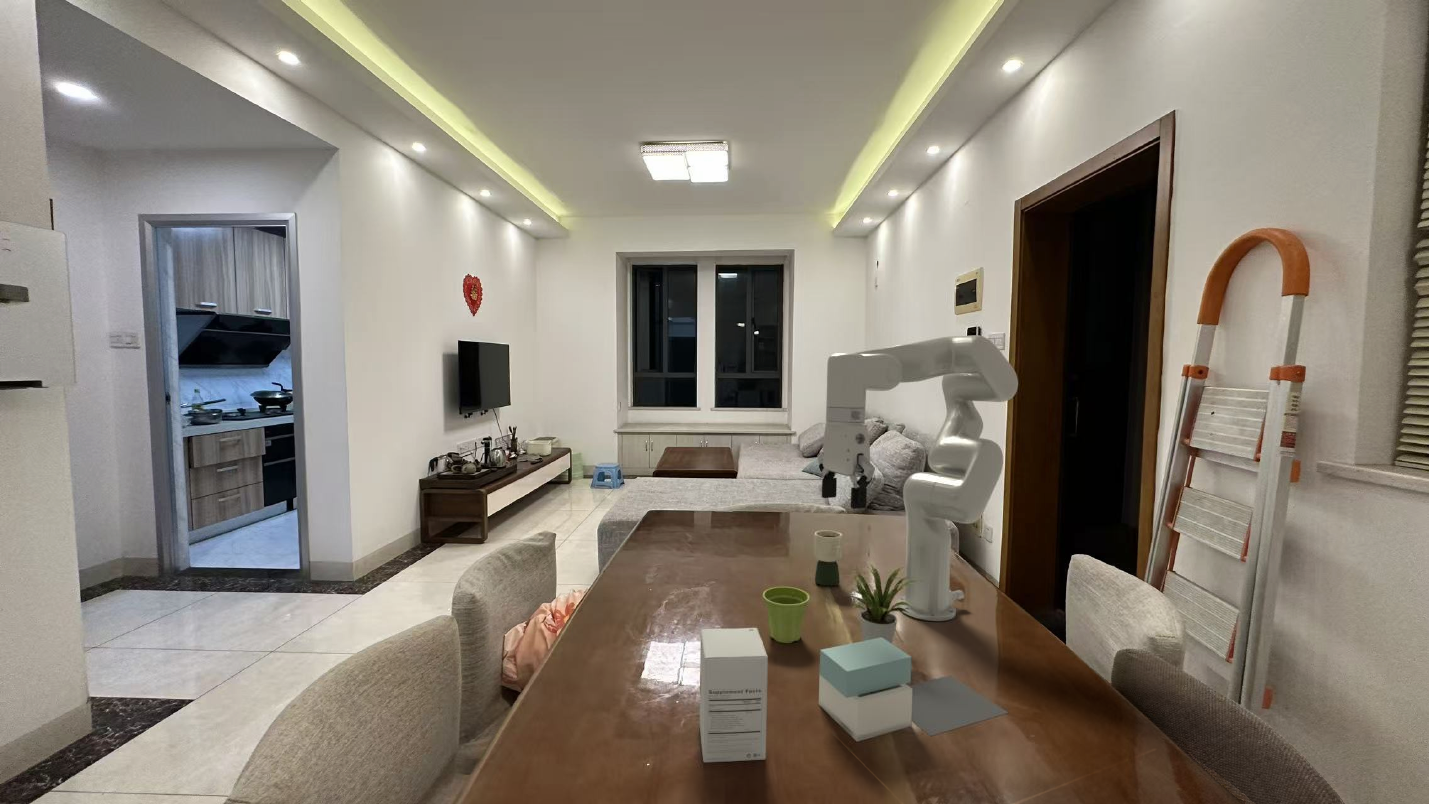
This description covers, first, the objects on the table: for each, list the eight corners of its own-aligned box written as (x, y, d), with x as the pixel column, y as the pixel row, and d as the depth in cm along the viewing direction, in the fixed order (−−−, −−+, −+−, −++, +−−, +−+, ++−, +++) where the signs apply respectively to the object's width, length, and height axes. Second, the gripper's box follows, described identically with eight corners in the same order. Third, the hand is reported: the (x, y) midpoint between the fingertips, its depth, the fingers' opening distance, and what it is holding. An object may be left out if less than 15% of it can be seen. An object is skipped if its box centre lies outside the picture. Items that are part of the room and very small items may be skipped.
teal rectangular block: (880, 660, 94) (881, 637, 94) (910, 682, 88) (911, 656, 88) (819, 674, 89) (820, 649, 89) (846, 698, 83) (847, 671, 83)
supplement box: (698, 723, 86) (699, 627, 86) (756, 721, 87) (758, 626, 86) (701, 764, 77) (703, 657, 76) (766, 761, 78) (769, 655, 77)
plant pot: (807, 650, 110) (808, 606, 109) (759, 645, 112) (760, 601, 111) (809, 629, 119) (810, 588, 119) (764, 624, 121) (765, 584, 120)
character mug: (851, 590, 141) (852, 538, 141) (826, 593, 139) (827, 541, 138) (827, 575, 152) (829, 527, 151) (804, 578, 149) (805, 529, 149)
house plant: (921, 638, 116) (924, 559, 115) (923, 671, 103) (926, 583, 102) (850, 627, 120) (852, 551, 119) (843, 657, 107) (845, 572, 106)
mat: (950, 676, 101) (950, 675, 101) (1008, 713, 90) (1008, 712, 90) (877, 694, 95) (877, 693, 95) (930, 737, 84) (930, 736, 84)
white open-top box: (869, 692, 95) (870, 658, 95) (911, 727, 86) (912, 688, 86) (818, 705, 91) (819, 669, 91) (856, 742, 82) (858, 702, 82)
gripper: (890, 419, 105) (887, 511, 105) (835, 413, 121) (833, 492, 121) (857, 420, 102) (854, 514, 103) (805, 413, 118) (803, 495, 118)
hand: (843, 502), depth 112 cm, fingers open, 9 cm apart
